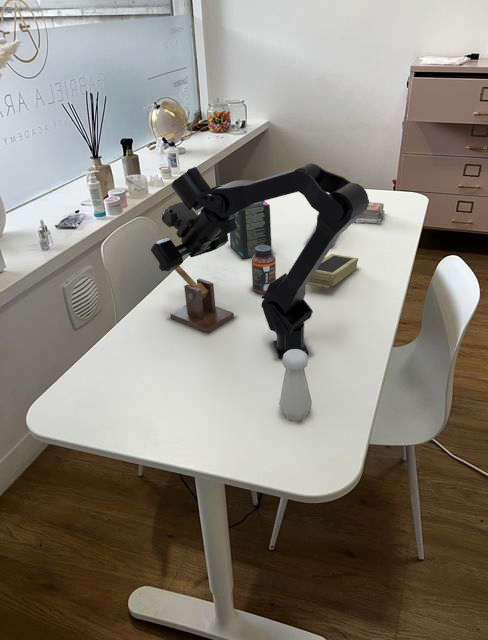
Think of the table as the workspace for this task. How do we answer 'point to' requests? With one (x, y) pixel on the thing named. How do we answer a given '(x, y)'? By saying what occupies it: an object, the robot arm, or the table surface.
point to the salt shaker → (295, 386)
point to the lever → (191, 281)
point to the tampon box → (251, 229)
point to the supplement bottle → (263, 268)
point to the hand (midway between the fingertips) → (175, 262)
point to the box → (333, 270)
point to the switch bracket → (201, 309)
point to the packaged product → (372, 213)
